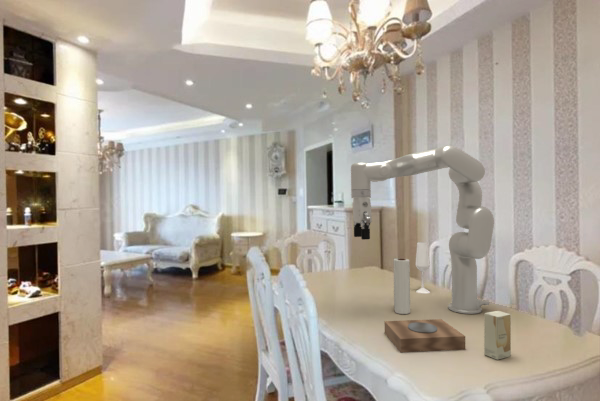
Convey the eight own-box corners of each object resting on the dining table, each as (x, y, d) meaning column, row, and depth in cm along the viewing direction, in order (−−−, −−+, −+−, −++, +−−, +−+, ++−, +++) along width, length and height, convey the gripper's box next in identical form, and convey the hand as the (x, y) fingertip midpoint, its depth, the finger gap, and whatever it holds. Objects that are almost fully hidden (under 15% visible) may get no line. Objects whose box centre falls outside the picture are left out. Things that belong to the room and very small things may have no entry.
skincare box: (497, 360, 104) (497, 317, 104) (483, 355, 107) (483, 313, 107) (511, 355, 107) (511, 313, 106) (497, 350, 110) (497, 309, 110)
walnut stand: (441, 330, 127) (441, 317, 127) (465, 349, 111) (465, 334, 111) (384, 332, 126) (384, 320, 126) (400, 352, 110) (400, 337, 110)
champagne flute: (428, 294, 176) (427, 243, 176) (414, 292, 179) (413, 243, 179) (431, 291, 181) (431, 242, 181) (417, 289, 185) (417, 241, 185)
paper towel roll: (410, 315, 145) (410, 260, 145) (395, 314, 146) (394, 260, 146) (409, 309, 152) (408, 257, 152) (394, 308, 153) (393, 257, 153)
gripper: (377, 193, 137) (378, 240, 137) (363, 194, 154) (364, 235, 154) (358, 194, 136) (359, 240, 136) (345, 194, 153) (346, 236, 153)
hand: (361, 238), depth 145 cm, fingers open, 9 cm apart
